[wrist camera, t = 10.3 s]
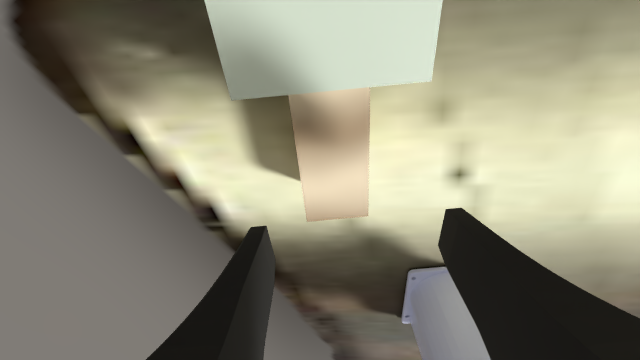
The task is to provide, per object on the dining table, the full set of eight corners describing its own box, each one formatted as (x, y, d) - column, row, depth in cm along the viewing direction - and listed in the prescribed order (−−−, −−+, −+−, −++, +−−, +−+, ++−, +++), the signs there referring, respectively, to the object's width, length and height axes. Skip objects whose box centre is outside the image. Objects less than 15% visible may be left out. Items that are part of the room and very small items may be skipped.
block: (391, 51, 17) (431, 81, 11) (254, 65, 17) (231, 100, 12) (397, -46, 14) (451, -65, 9) (235, -29, 14) (194, -38, 9)
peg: (357, 176, 22) (368, 216, 18) (306, 181, 22) (306, 221, 18) (355, -5, 15) (371, -3, 12) (282, 2, 15) (274, 7, 12)
